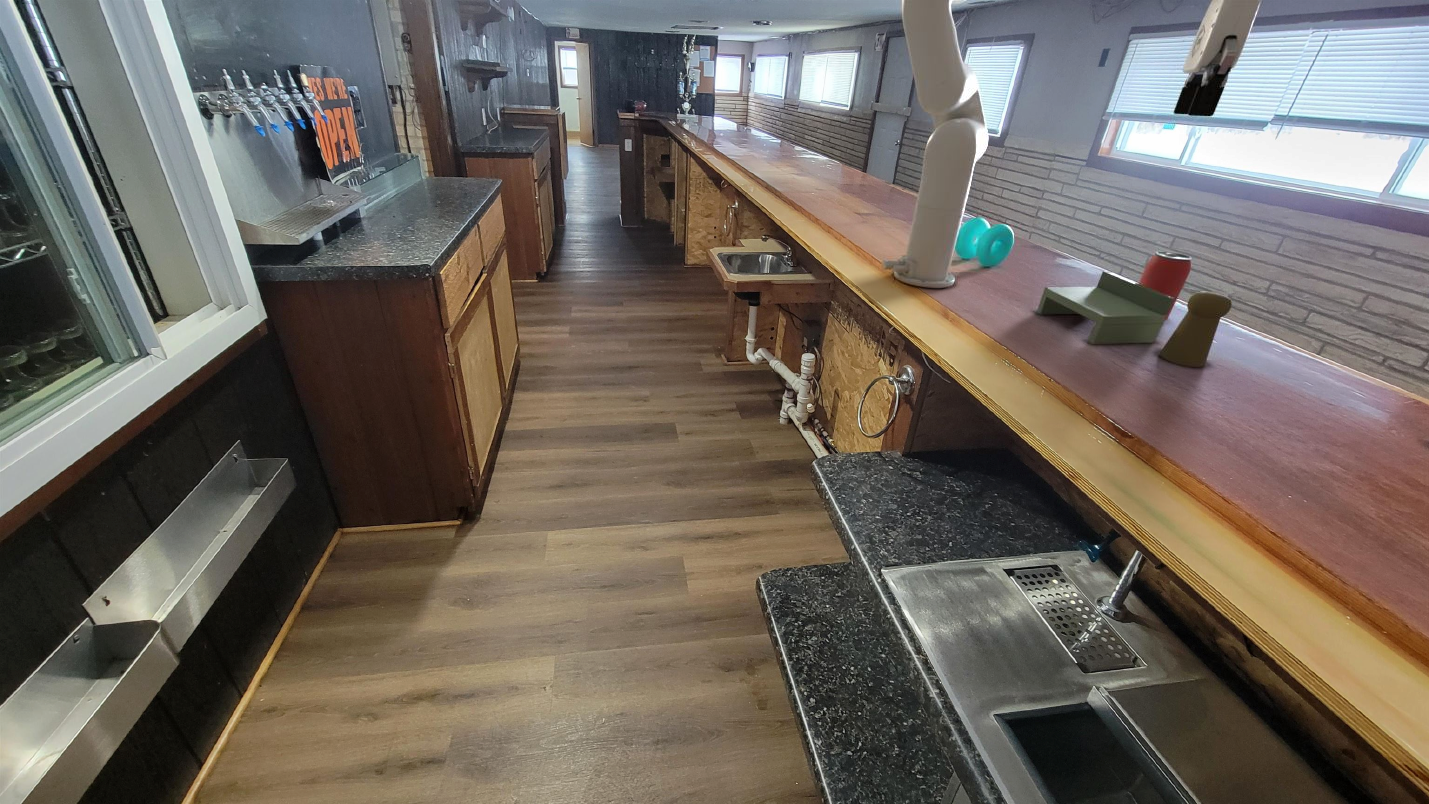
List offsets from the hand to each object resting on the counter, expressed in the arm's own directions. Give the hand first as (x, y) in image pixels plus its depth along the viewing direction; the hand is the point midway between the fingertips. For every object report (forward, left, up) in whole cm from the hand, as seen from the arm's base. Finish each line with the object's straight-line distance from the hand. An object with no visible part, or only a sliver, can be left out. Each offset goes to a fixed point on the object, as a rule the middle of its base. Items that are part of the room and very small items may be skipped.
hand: (1191, 115), depth 91 cm
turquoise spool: (-6, +36, -35) cm, 50 cm away
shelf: (-8, -5, -35) cm, 36 cm away
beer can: (+7, -1, -35) cm, 35 cm away
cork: (-3, -19, -35) cm, 40 cm away
